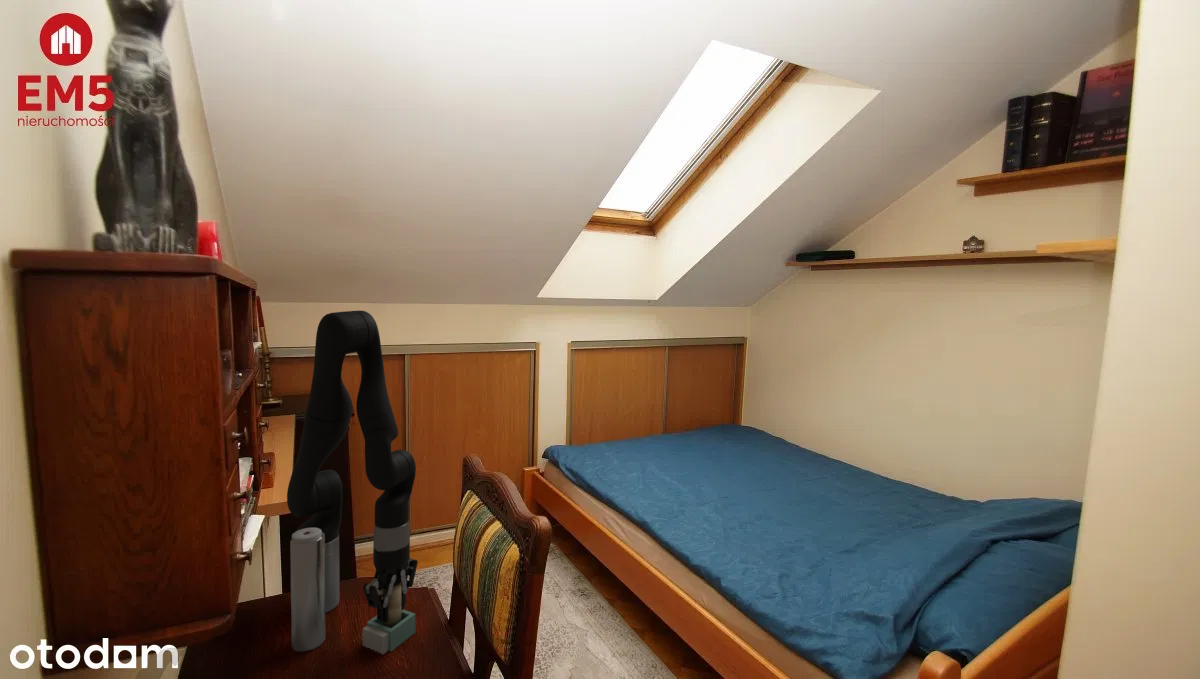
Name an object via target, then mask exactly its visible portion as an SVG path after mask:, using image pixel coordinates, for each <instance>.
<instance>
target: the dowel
mask: <svg viewBox="0 0 1200 679" xmlns="http://www.w3.org/2000/svg"><path fill="white" fill-rule="evenodd" d="M382 589H383V590H384V591H387V589H384V588H382ZM381 600H383V595H382V599H381ZM387 605H388V621H387V622H385V623H383V622H382V625H384V626H386V627H389V628H392V627H394V626H395V625H396V624H398V623H399V622H401V582H400V583H399V584H398V585H395V586H394V587H393V589H392V594H391V595H390V596H389V599H388V604H387Z"/></svg>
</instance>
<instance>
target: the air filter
mask: <svg viewBox="0 0 1200 679" xmlns="http://www.w3.org/2000/svg"><path fill="white" fill-rule="evenodd" d="M289 543H290V545H289V546H290V548H289V549H290V607H291V608H290V610H291V611H290V612H291V613H290V618H291V619H290V620H291V621H290V622H291V624H290V625H291V628H290V629H291V648H292V650H293V651H296V652H301V653H303V652H308V651H312V650H315V649H316V648H318V647H320V646H321V645H323V643H324V642H325V641H324V640H326V613H325V534H324V532H322V531H321V529H319V528H305V529H301V530H298V531H297V530H296V531H295V532H293V533H292V534H291V540H290V541H289Z"/></svg>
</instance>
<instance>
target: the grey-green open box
mask: <svg viewBox="0 0 1200 679" xmlns="http://www.w3.org/2000/svg"><path fill="white" fill-rule="evenodd" d="M367 625H369V626H371V627H374V628H376V629H379V630H382V631H384V632H387V633H388V651H387V652H393V651H394V650H395V649H396V648H397V647H399V646H400V645H402V644H404V642H405V641H407V640H408V639H410V638H411V637H412V636H413V635H414V634H416V613H414V612H412V611H408V610H406V609H405V608H404V609H403V610H402V611H401V622H399V623H398V624H396V625H395V626H394V627H392V628H389V627H386V626H384V625H382V622H381V621H379V620H378V619H377V615H375V616H374V617H373V618H371V619H369V620H368V621H367V622H366V626H367Z"/></svg>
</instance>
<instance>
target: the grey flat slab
mask: <svg viewBox="0 0 1200 679" xmlns="http://www.w3.org/2000/svg"><path fill="white" fill-rule="evenodd" d="M364 646H365V647H364ZM362 647H364V648H366V647H367V648H366V649H368V648H370V649H369V650H371V649H372V650H371V651H373V650H375V651H374V652H376V651H377V652H376V653H378V652H379V653H378V654H380V653H381V655H385V654H386V653H387V652H389V651H388V633H387V632H384V631H382V630H379V629H376V628H374V627H371V626H369V625H367V624H366V626H364V627H363V628H362Z"/></svg>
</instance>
